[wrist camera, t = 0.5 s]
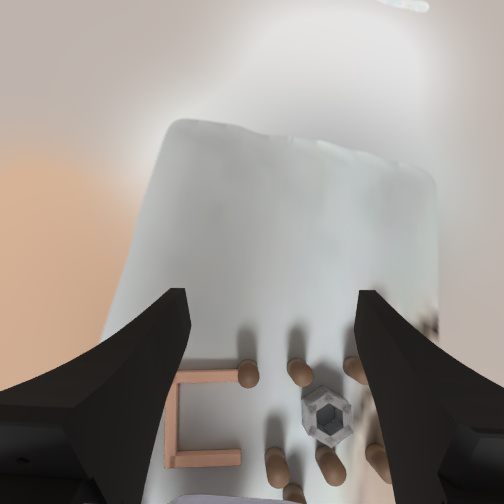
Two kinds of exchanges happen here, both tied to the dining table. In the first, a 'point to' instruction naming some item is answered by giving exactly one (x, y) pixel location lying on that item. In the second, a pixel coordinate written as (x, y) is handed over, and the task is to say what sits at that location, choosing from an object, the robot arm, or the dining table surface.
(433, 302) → the dining table surface
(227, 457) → the parts bay
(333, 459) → the walnut spacers
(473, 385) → the robot arm
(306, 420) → the steel nut
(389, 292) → the dining table surface
